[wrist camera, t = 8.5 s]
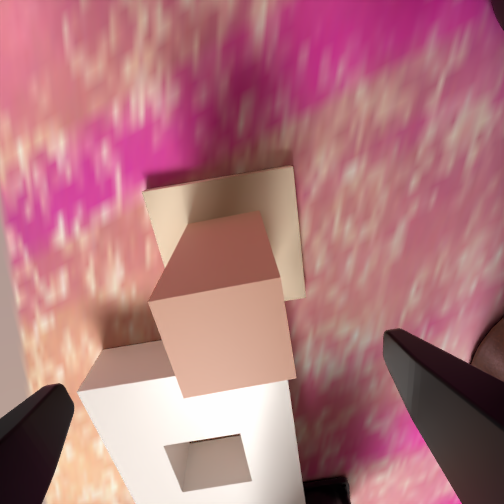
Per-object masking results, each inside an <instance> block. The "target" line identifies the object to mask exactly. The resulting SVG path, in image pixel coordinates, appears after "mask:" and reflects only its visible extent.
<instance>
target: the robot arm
mask: <svg viewBox="0 0 504 504" xmlns="http://www.w3.org/2000/svg"><path fill="white" fill-rule="evenodd" d="M383 357H384V360H385V363H386V365H387V367H388V370H389V372H390V374H391V376H392V378H393V380H394V382H395V385H396V387H397V389H398V391H399V393H400V395H401V397H402V400H403V402H404V404H405V406H406V408H407V410H408V412H409V414H410V416H411V418H412V420H413V422H414V423H415V425H416V427H417V429H418V430H419V432H420V434H421V435H422V437H423V439H424V440H425V442H426V444H427V445H428V447H429V449H430V450H431V452H432V454H433V456H434V457H435V459H436V461H437V462H438V464H439V466H440V467H441V469H442V471H443V472H444V474H445V476H446V477H447V479H448V481H449V482H450V484H451V486H452V488H453V489H454V491H455V493H456V494H457V496H458V498H459V499H460V501H461V503H462V504H504V381H502V380H500V379H498V378H496V377H494V376H492V375H490V374H488V373H486V372H484V371H482V370H480V369H478V368H476V367H475V366H473V365H471V364H469V363H467V362H465V361H463V360H461V359H459V358H457V357H455V356H453V355H451V354H449V353H447V352H445V351H443V350H442V349H440V348H438V347H436V346H434V345H432V344H430V343H428V342H426V341H424V340H422V339H420V338H418V337H416V336H414V335H412V334H410V333H409V332H407V331H405V330H403V329H400V328H397V329H390V330H386V331H385V332H384V337H383ZM73 414H74V403H73V401H72V399H71V398H70V396H69V394H68V392H67V390H66V388H65V387H64V385H62V384H59V383H58V384H52V385H47V386H44V387H42V388H41V389H40V390H38V391H37V392H36V393H34V394H33V395H31V396H30V397H29V398H27V399H26V400H25V401H23V402H22V403H21V404H19V405H18V406H17V407H15V408H14V409H13V410H11V411H10V412H8V413H7V414H6V415H5V416H3V417H2V418H1V419H0V504H42V502H43V500H44V497H45V495H46V493H47V490H48V488H49V485H50V483H51V480H52V478H53V475H54V473H55V470H56V467H57V464H58V461H59V458H60V455H61V451H62V448H63V445H64V442H65V439H66V436H67V433H68V430H69V426H70V423H71V420H72V417H73ZM303 489H304V496H305V503H306V504H351V502H350V496H349V483H348V480H347V478H345V477H341V478H334V479H328V480H322V481H316V482H309V483H303Z"/></svg>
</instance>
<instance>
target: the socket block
mask: <svg viewBox="0 0 504 504" xmlns="http://www.w3.org/2000/svg"><path fill="white" fill-rule="evenodd" d="M77 393H78V395H79V397H80V399H81V401H82V403H83V405H84V407H85V409H86V410H87V412H88V414H89V416H90V418H91V420H92V422H93V424H94V426H95V428H96V429H97V431H98V433H99V435H100V437H101V439H102V441H103V443H104V445H105V447H106V448H107V450H108V452H109V454H110V456H111V458H112V460H113V462H114V464H115V466H116V467H117V469H118V471H119V473H120V475H121V477H122V479H123V481H124V483H125V485H126V486H127V488H128V490H129V492H130V494H131V496H132V498H133V500H134V502H135V504H306V503H305V496H304V489H303V482H302V475H301V468H300V461H299V454H298V447H297V440H296V433H295V426H294V419H293V413H292V406H291V399H290V392H289V385H288V380H284V381H279V382H273V383H268V384H262V385H256V386H251V387H245V388H240V389H234V390H228V391H223V392H217V393H212V394H206V395H201V396H195V397H189V398H183V395H182V393H181V390H180V387H179V385H178V382H177V379H176V377H175V374H174V371H173V368H172V366H171V363H170V360H169V358H168V355H167V352H166V350H165V347H164V344H163V342H162V340H159V341H153V342H147V343H141V344H135V345H129V346H122V347H116V348H110V349H104V350H102V351H101V353H100V355H99V356H98V358H97V360H96V361H95V363H94V365H93V366H92V368H91V369H90V371H89V373H88V374H87V376H86V378H85V379H84V381H83V383H82V384H81V386H80V388H79V389H78V391H77ZM234 434H240V436H233V437H227V438H221V439H215V440H208V441H202V442H196V443H190V444H189V442H190V441H196V440H202V439H209V438H215V437H221V436H227V435H234Z"/></svg>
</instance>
